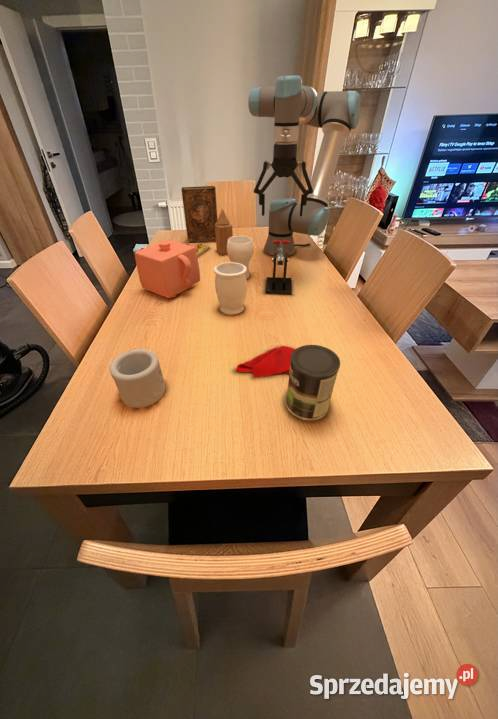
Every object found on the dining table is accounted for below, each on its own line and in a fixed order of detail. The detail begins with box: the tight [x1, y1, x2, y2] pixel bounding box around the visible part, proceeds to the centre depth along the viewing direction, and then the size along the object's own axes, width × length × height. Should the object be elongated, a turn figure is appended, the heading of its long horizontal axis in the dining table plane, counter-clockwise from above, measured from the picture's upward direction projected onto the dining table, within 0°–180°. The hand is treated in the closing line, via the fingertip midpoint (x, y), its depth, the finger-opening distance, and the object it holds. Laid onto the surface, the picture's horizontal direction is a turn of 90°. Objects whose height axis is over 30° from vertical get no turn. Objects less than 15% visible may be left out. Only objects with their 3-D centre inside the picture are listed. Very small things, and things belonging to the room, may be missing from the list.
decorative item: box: [215, 207, 234, 256], centre depth 140 cm, size 7×7×20 cm
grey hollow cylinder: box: [109, 348, 166, 409], centre depth 73 cm, size 14×11×10 cm
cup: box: [226, 235, 254, 280], centre depth 121 cm, size 11×11×15 cm
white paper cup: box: [213, 261, 248, 315], centre depth 101 cm, size 11×10×15 cm
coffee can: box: [285, 344, 341, 422], centre depth 67 cm, size 10×10×14 cm
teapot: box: [134, 239, 201, 299], centre depth 114 cm, size 25×23×18 cm
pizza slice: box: [185, 242, 210, 258], centre depth 143 cm, size 16×21×3 cm
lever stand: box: [264, 253, 293, 296], centre depth 114 cm, size 12×10×13 cm
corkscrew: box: [273, 240, 289, 266], centre depth 113 cm, size 11×6×2 cm, turn 175°
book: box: [180, 185, 218, 244], centre depth 152 cm, size 16×6×25 cm, turn 102°
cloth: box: [235, 345, 296, 378], centre depth 83 cm, size 26×14×2 cm, turn 84°
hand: (281, 215), depth 108 cm, fingers open, 13 cm apart
